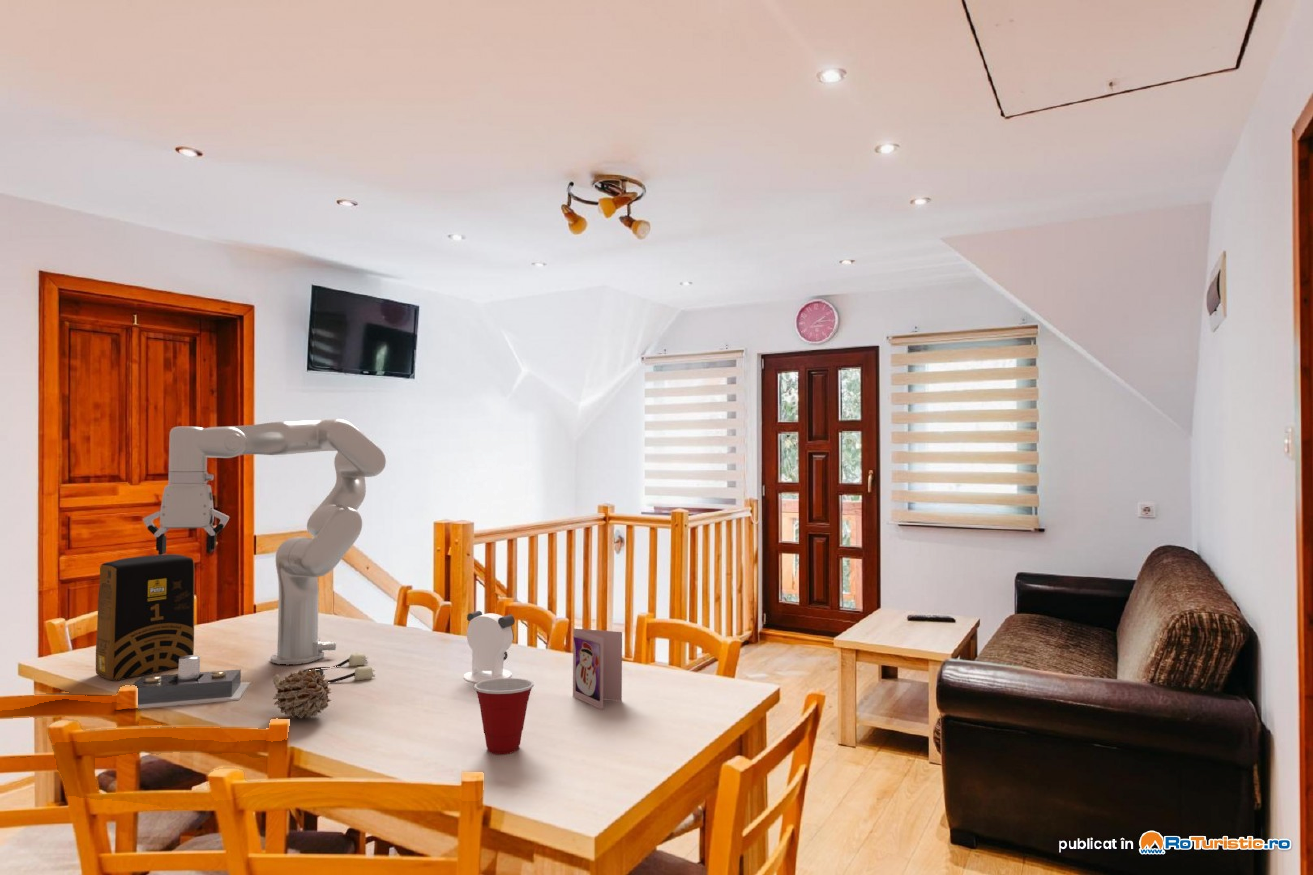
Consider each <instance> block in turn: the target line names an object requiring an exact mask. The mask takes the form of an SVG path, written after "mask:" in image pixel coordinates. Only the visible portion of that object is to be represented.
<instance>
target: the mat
mask: <svg viewBox="0 0 1313 875" xmlns="http://www.w3.org/2000/svg"><path fill="white" fill-rule="evenodd" d="M250 685H251V682H250V681H248V682H247V681H245V682H241V685H240V686H239V687H238V689H237V690H236V692H235V693H234V694H233V696H232V697H223V698H211V699H199V700H188V701H176V702H164V703H152V704H140V705H138V709H151V708H161V707H172V706H185V705H194V704H195V705H197V704H198V705H199V704H208V703H219V702H231V701H233V702H234V701H239V700H240V699H241V698H242V696H243V695H244V693H245V692H246V691H247V689H248V687H249V686H250ZM245 690H246V691H245ZM138 709H137V710H138Z"/></svg>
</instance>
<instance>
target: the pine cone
mask: <svg viewBox="0 0 1313 875" xmlns="http://www.w3.org/2000/svg"><path fill="white" fill-rule="evenodd" d="M325 677H326V675H325V674H324V673H323V676H321V675H320V672H316V670H315V669H312V670H311V671H309V670H306V671H305V672H303V670H302V669H299V670H298V671H297V672H290V674H289V675H288V676H284V679H283V678H282V677H280V676H279V675H278V674H277V673H276V674H275V675H274V676H272V682H273V685H274V687H275V688H276V693H275V696H274V697H272V700H276V701H274V703H273V705H275V706H276V705H277V708H279V709H280V713H281V714H283V713H284V715H285V716H290V715H291V717H292V718H293V719H294V718H295V716H297V715H298V716H299V717H298V716H297V717H298V718H299V719H302V718H304V717H305V718H306V719H308V717H311V718H312V717H313V716H314V717H315V716H317V714H318V713H319V714H321V713H322V711H324V709H326V708H328V706H329V702H331V701H332V699H330V698H329V694H332V693H333V692H331V691H332V689H331V688H330V687H329V685H330V684H331V683H328V681H329V680H330V679H327V678H325Z"/></svg>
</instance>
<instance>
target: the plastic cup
mask: <svg viewBox="0 0 1313 875" xmlns="http://www.w3.org/2000/svg"><path fill="white" fill-rule="evenodd" d="M534 686H535V684H534V681H531V680H529V679H525V678H524V679H523V678H516V677H515V678H513V677H510V678H501V679H491V680H485V681H481V682H478V683H475V684H474V686H473V688H474V690H475V692H476V695H477V698H478V704H479V708H480V715H481V722H482V729H483V733H484V739H485V745H486V749H487V751H488V752H489V753H490V754H493V755H508V754H509V755H510V754H512V753H515V752H517V751H518V749H520V745H521V741H522V740H521V739H522V734H523V731H524V726H525V719H526V713H527V707H528V702H529V700H530V695H531V691H532V689H533V688H534Z"/></svg>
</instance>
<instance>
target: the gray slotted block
mask: <svg viewBox="0 0 1313 875" xmlns="http://www.w3.org/2000/svg"><path fill="white" fill-rule="evenodd" d="M241 674H242V669H240V668H239V669H228V670H217V671H216V670H214V671H212V670H211V671H199V680H198V681H194V682H181V683H178V673H174V674H161V675H158V674H157V675H148V676H145V675H144V676H140V677H139V678H138V679H137V680H136V681H135V682H133V683H132V684H131V685H135V686H137V688H138V705H140V704H152V703H164V702H176V701H188V700H199V699H211V698H223V697H232V696H233V694H234V693H235V692H236V690H237V689H238V687H239V686H240V685H241V683H242V682H241V678H242V677H241Z"/></svg>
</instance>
